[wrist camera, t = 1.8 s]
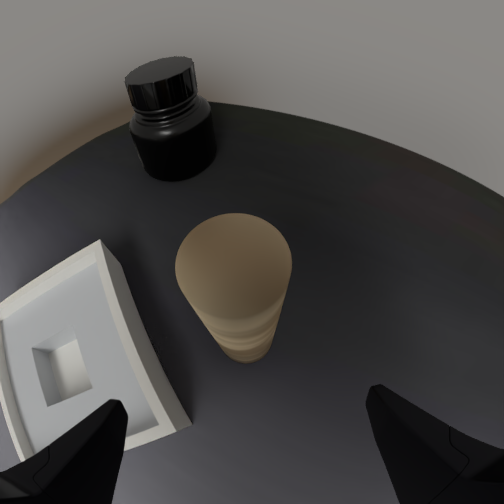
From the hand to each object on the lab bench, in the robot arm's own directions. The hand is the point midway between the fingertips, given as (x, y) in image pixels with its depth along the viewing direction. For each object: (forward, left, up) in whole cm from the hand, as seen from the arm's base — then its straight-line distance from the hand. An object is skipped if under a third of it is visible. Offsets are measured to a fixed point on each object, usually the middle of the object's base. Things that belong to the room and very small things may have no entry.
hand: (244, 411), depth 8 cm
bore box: (-7, +13, -11) cm, 19 cm away
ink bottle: (+17, +21, -12) cm, 29 cm away
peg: (+4, +3, -11) cm, 13 cm away
